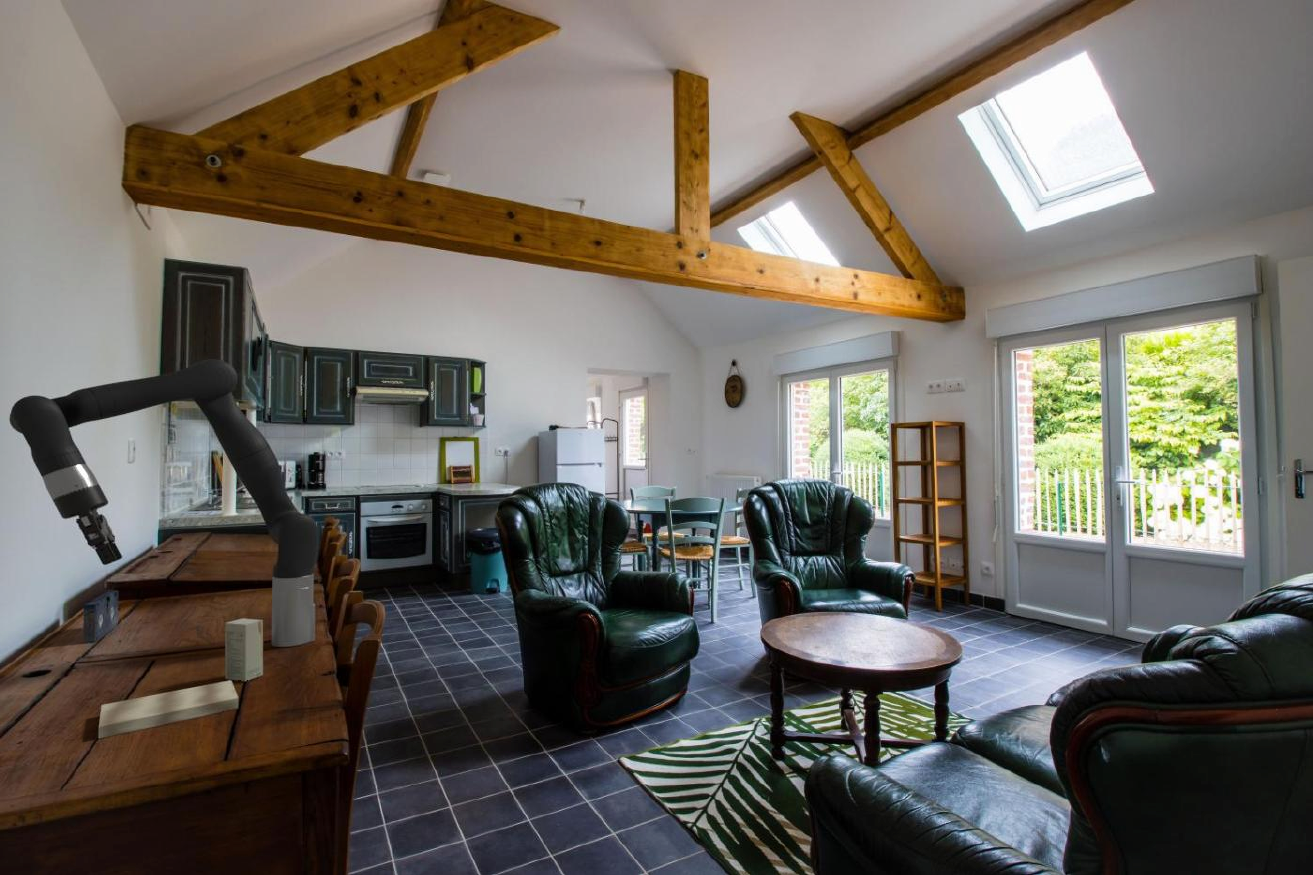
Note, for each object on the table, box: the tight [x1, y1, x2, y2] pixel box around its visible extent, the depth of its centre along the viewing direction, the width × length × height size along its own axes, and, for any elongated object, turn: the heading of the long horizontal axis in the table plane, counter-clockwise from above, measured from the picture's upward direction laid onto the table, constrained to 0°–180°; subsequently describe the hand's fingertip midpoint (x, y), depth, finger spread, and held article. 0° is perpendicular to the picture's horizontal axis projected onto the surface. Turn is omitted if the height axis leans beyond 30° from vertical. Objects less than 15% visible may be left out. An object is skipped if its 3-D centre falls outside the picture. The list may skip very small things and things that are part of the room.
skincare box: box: [224, 617, 264, 682], centre depth 136 cm, size 6×4×12 cm
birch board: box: [98, 679, 239, 739], centre depth 118 cm, size 20×12×2 cm, turn 130°
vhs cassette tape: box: [82, 590, 119, 644], centre depth 168 cm, size 18×3×10 cm, turn 25°
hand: (113, 561), depth 130 cm, fingers open, 8 cm apart
